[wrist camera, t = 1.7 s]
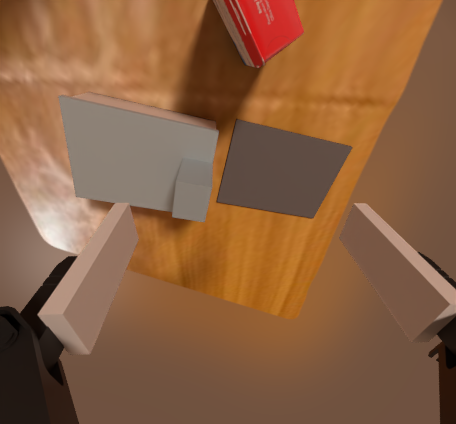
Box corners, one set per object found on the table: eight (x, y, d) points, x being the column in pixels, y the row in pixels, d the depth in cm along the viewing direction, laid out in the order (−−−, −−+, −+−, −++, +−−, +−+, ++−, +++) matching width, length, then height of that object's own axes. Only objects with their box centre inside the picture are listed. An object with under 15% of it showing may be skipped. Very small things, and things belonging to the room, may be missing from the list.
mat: (216, 200, 42) (216, 201, 42) (236, 119, 34) (236, 119, 34) (312, 217, 46) (313, 218, 45) (351, 146, 37) (352, 147, 37)
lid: (83, 189, 34) (46, 226, 27) (68, 93, 27) (12, 107, 19) (202, 209, 38) (199, 247, 30) (218, 127, 30) (220, 150, 23)
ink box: (276, 42, 29) (321, 30, 17) (243, 66, 30) (263, 72, 18) (243, -40, 25) (271, -134, 13) (207, -8, 26) (201, -64, 14)
